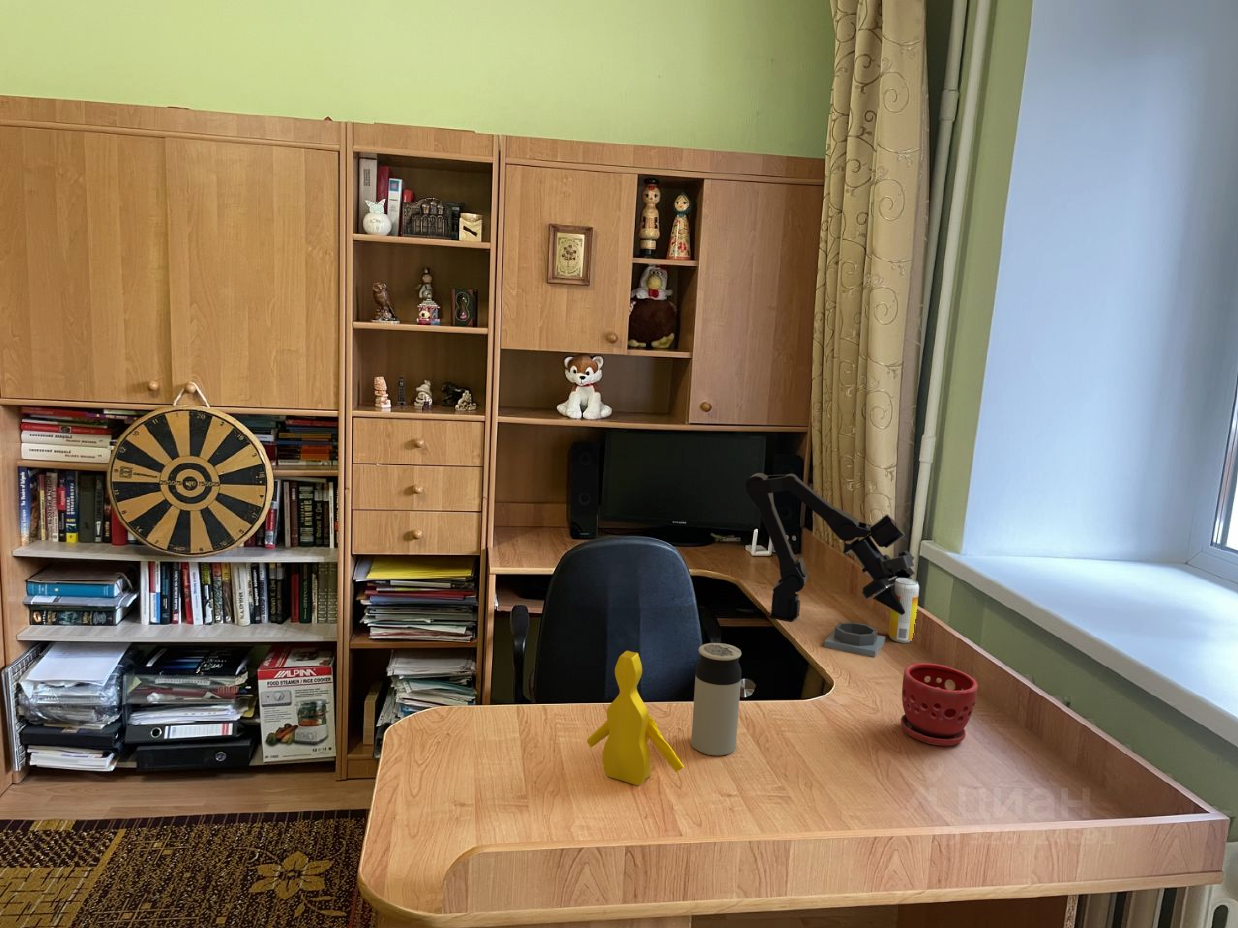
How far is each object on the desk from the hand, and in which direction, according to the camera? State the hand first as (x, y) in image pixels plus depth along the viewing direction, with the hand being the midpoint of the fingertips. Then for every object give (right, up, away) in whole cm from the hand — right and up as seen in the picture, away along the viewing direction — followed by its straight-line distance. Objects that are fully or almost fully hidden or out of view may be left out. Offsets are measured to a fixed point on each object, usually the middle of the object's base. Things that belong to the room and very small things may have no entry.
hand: (909, 611), depth 217 cm
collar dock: (-14, -8, -4) cm, 17 cm away
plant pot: (-12, -15, -51) cm, 55 cm away
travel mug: (-55, -14, -60) cm, 83 cm away
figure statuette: (-70, -15, -72) cm, 102 cm away
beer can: (-1, -8, +2) cm, 8 cm away
